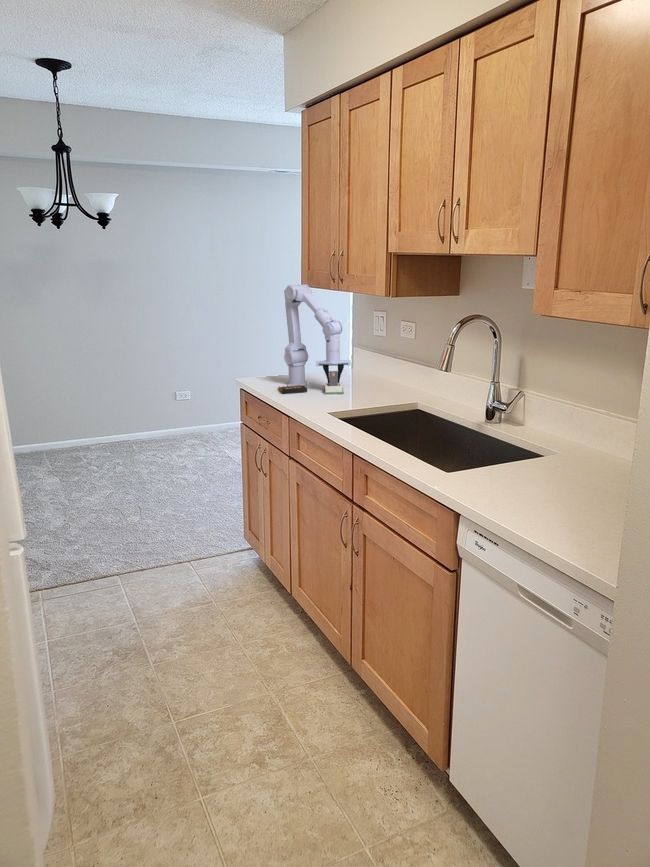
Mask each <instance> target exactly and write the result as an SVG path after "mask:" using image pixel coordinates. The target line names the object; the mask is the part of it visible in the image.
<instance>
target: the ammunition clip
mask: <svg viewBox="0 0 650 867" xmlns="http://www.w3.org/2000/svg"><path fill="white" fill-rule="evenodd" d="M277 389H278V390H279V391H280V392H281V394H282V395H286V394H296V393H297V394H298V393H308V387H307V386H302V385H298V386H296V385H294V386H288V385H285V386H284V385H283V386H278V388H277Z"/></svg>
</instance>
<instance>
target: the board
mask: <svg viewBox="0 0 650 867" xmlns="http://www.w3.org/2000/svg"><path fill="white" fill-rule="evenodd" d="M323 389H324V393H323V394H324V395H344V394H345V392H344V387H343V383H342V382H339V383H338V386H329V383H328V382H327V383H326V382H325V384H324V388H323Z"/></svg>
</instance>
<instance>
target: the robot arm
mask: <svg viewBox="0 0 650 867" xmlns="http://www.w3.org/2000/svg"><path fill="white" fill-rule="evenodd" d="M284 301H285V304H284V305H285V314H286V316H285V317H286V324H287V334H288V344H287V345H286V347H285V348H284V356H283V359H284V362H285V364H286V365H287V366H288V383H287V386H294V385H296V386H298V385H302V386H305V387H307V381H306V372H305V371H306V369H305V368H306V367H305V365H307V364H306V363H307V362H308V359H309V353H308V351H307V346H306V345H305V344H304V343H302V337H301V336H302V334H301V327H300V325H301V324H300V314H299V306H300V305H301V304H302V303H304V304H306V305H307V307H308V308H309V309H310V310H311V311H312V312H313V313H314V318H315V320H316V321H317V322H318V324H320V326H321V327H322V333H323V335H324V340H325V356H326V357H325V359H326V360H316V361H315V367H322V370H323V371H324V373H325V376H326V380H327V383H330V382H329V371H330V370H329V369H330V366H331V367H332V366H337V372H338V383H340V380H341V376H342V373H343V371H344V367H345V366H351V360H350V359H347V360H345V359H341V357H340V356H341V351H340V350H341V348H340V347H341V344H340V342H341V341H340V338H341V337H340V334H342V332H343V325H342V322H341V321H340V320H336V319H334V317H333V316H332V315H331V314H330V313H329V312H328V309H326V308H325V307H321V306H320V304H319V302H318V301H317V300H316V298H315V296H314V295H313V293H312V289H311V288H310V286H309V285H308V284H307V283H304V284H289V285H286V287H285V289H284Z"/></svg>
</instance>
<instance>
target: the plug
mask: <svg viewBox="0 0 650 867" xmlns="http://www.w3.org/2000/svg"><path fill="white" fill-rule="evenodd" d="M329 382H330V383H329V386H338V370H335V371H334V370H329Z"/></svg>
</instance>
